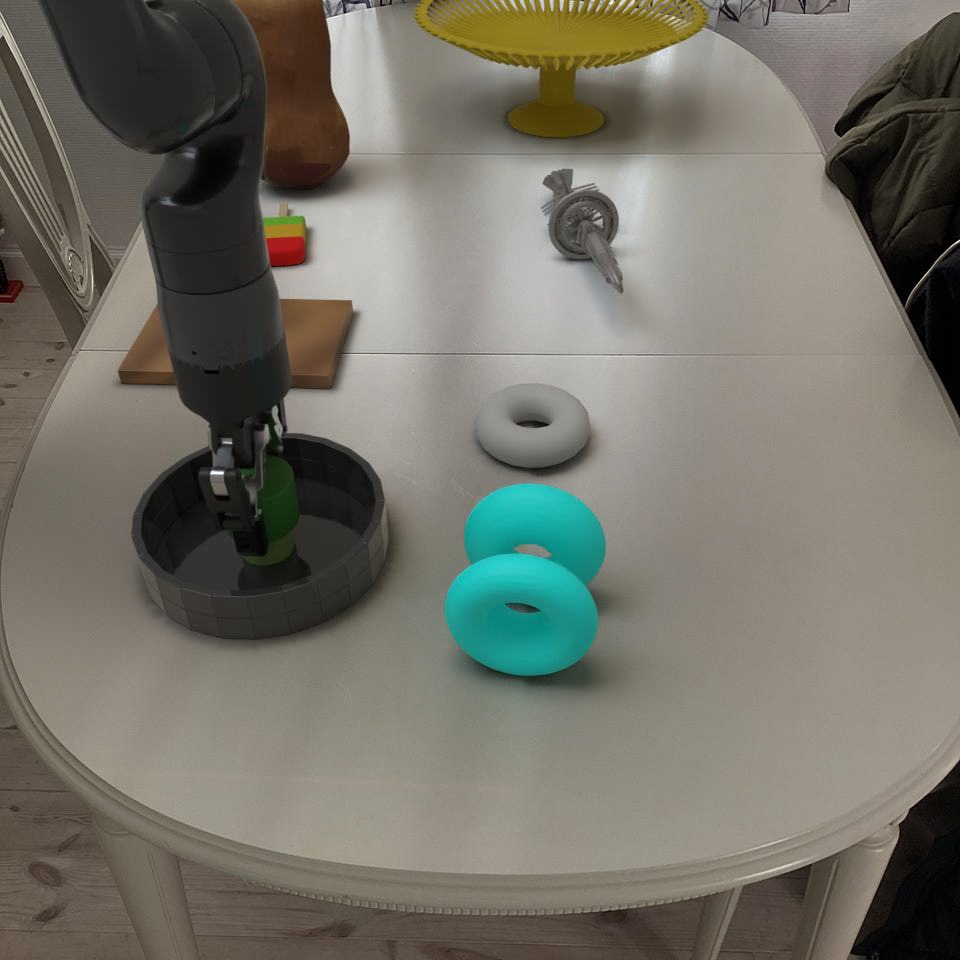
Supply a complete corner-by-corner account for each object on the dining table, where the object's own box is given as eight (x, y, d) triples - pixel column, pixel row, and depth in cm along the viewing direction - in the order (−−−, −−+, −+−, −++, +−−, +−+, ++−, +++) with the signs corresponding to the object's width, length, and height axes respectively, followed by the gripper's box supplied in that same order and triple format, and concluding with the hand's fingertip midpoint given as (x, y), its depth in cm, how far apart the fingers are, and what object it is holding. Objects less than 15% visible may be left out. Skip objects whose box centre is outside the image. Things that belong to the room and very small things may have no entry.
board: (120, 383, 96) (117, 370, 95) (164, 308, 107) (161, 295, 106) (330, 388, 95) (328, 375, 94) (353, 312, 106) (352, 299, 105)
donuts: (602, 586, 75) (612, 482, 68) (591, 693, 67) (601, 587, 61) (468, 571, 76) (466, 468, 70) (443, 674, 69) (438, 569, 62)
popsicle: (255, 268, 113) (253, 253, 112) (262, 210, 125) (260, 196, 124) (305, 265, 114) (303, 250, 113) (307, 208, 125) (305, 193, 124)
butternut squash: (323, 155, 138) (300, -47, 122) (371, 188, 130) (354, -25, 114) (228, 179, 132) (191, -30, 116) (272, 216, 124) (239, -5, 108)
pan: (110, 636, 72) (94, 592, 69) (184, 472, 86) (173, 429, 83) (370, 646, 71) (364, 601, 68) (401, 478, 85) (398, 435, 82)
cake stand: (544, 202, 126) (548, 79, 116) (362, 113, 150) (354, 4, 141) (755, 125, 145) (773, 14, 136) (564, 57, 170) (568, -42, 160)
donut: (564, 489, 84) (605, 421, 90) (566, 457, 81) (608, 390, 88) (455, 458, 87) (503, 395, 94) (454, 427, 85) (502, 364, 91)
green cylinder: (222, 572, 76) (205, 501, 71) (240, 522, 80) (225, 452, 76) (296, 575, 76) (284, 504, 71) (310, 524, 80) (299, 454, 76)
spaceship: (569, 270, 96) (647, 234, 95) (513, 162, 125) (573, 134, 124) (597, 338, 100) (672, 305, 99) (537, 219, 129) (595, 192, 128)
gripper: (198, 275, 71) (237, 463, 82) (132, 392, 60) (187, 591, 71) (303, 277, 71) (329, 466, 82) (257, 395, 60) (293, 595, 71)
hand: (263, 523), depth 76 cm, fingers closed on green cylinder, 5 cm apart
